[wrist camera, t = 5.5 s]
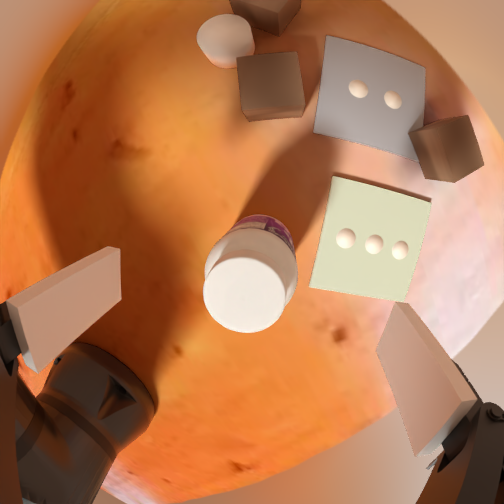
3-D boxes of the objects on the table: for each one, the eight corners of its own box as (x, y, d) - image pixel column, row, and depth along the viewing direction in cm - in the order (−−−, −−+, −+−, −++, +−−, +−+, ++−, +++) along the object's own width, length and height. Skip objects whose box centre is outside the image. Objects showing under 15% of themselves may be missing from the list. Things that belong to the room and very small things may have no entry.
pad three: (308, 285, 22) (309, 287, 22) (332, 175, 20) (333, 175, 19) (401, 300, 22) (403, 302, 21) (429, 202, 19) (431, 203, 19)
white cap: (202, 68, 18) (191, 54, 16) (211, 30, 17) (202, 14, 14) (250, 70, 18) (246, 56, 15) (258, 32, 17) (254, 14, 14)
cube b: (279, 37, 17) (236, 21, 17) (300, 8, 16) (259, -6, 16) (278, 13, 13) (228, -2, 13) (302, -17, 12) (255, -31, 12)
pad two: (312, 132, 19) (313, 132, 19) (325, 37, 16) (326, 35, 16) (416, 161, 19) (418, 161, 18) (423, 68, 16) (425, 67, 16)
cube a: (249, 121, 19) (241, 110, 16) (244, 76, 18) (235, 57, 15) (301, 117, 19) (305, 104, 15) (294, 71, 18) (297, 51, 14)
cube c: (425, 178, 19) (454, 182, 15) (407, 133, 18) (435, 128, 14) (454, 162, 18) (484, 165, 14) (439, 119, 17) (467, 115, 13)
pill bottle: (302, 267, 22) (314, 330, 13) (240, 285, 23) (215, 354, 14) (281, 203, 21) (280, 226, 12) (217, 225, 22) (171, 263, 13)
